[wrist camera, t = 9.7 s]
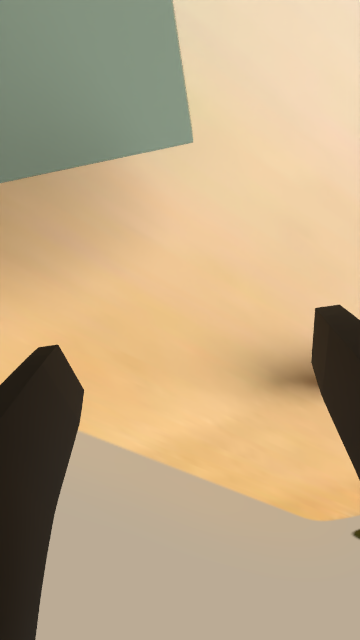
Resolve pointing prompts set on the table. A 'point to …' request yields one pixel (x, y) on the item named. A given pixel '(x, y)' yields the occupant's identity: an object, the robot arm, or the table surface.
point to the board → (88, 83)
